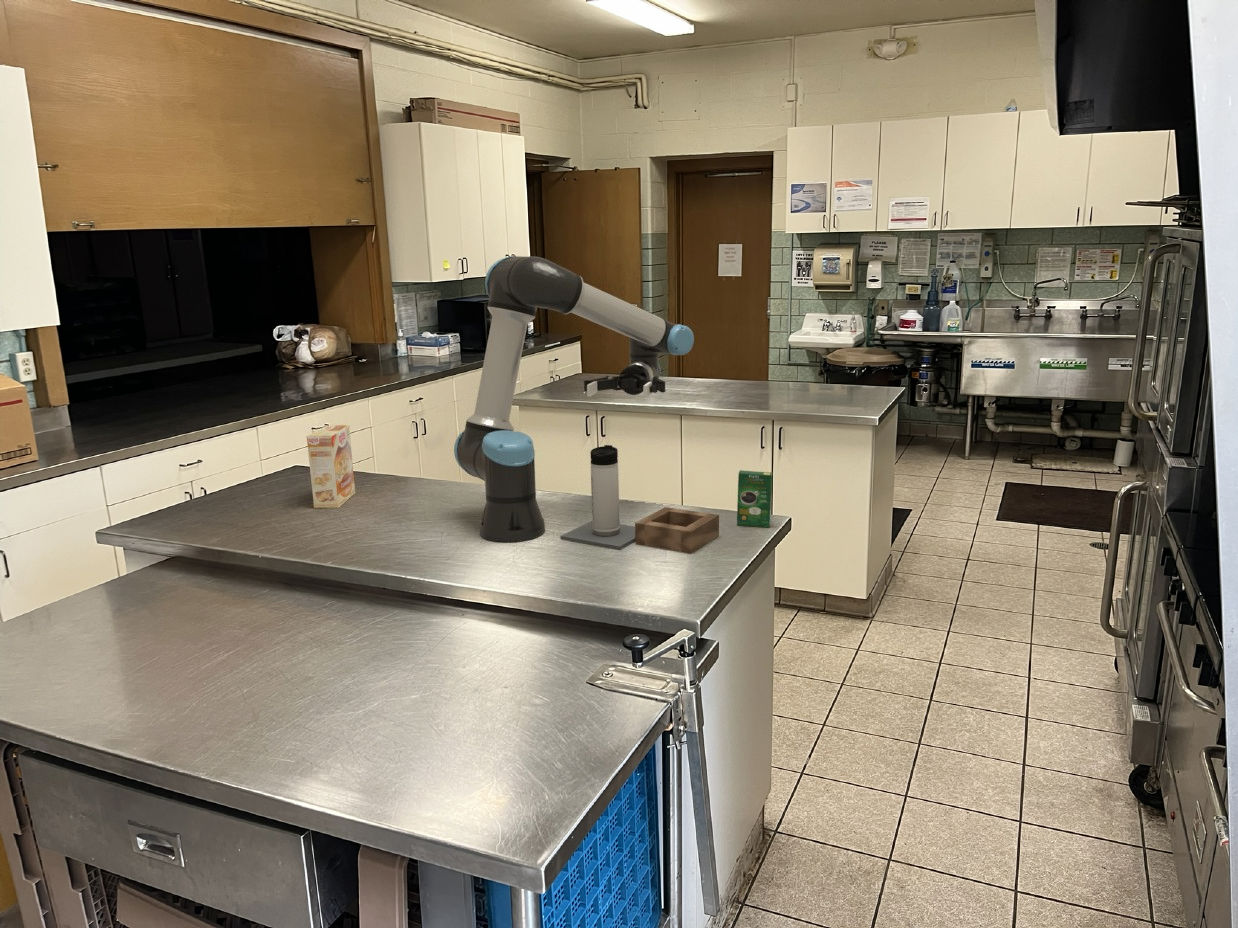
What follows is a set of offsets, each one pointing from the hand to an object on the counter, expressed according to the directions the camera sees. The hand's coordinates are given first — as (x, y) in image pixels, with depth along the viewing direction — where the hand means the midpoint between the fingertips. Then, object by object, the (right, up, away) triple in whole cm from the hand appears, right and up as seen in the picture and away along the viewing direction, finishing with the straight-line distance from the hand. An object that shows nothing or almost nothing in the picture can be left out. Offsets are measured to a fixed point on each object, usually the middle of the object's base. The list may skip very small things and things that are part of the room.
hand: (616, 391), depth 207 cm
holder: (+14, -34, -7) cm, 38 cm away
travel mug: (-2, -33, -3) cm, 33 cm away
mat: (-2, -34, -3) cm, 34 cm away
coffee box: (+33, -32, +2) cm, 46 cm away
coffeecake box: (-76, -27, +33) cm, 87 cm away
